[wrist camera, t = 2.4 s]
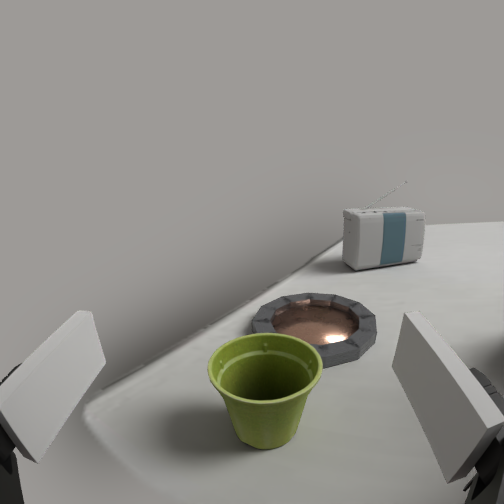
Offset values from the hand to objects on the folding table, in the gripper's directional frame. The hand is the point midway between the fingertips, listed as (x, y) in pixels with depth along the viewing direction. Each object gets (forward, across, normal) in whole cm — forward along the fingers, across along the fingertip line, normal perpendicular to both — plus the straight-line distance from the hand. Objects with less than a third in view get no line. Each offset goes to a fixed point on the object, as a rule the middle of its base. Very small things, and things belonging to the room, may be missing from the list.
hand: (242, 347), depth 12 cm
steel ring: (+29, +8, -17) cm, 35 cm away
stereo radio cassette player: (+58, +29, -17) cm, 67 cm away
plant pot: (+10, +1, -18) cm, 20 cm away
